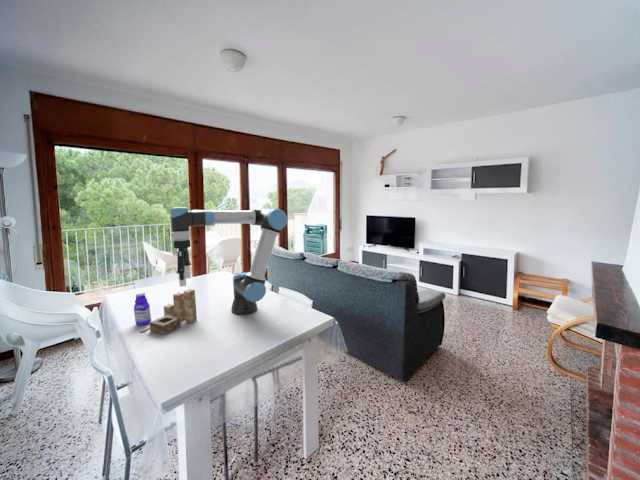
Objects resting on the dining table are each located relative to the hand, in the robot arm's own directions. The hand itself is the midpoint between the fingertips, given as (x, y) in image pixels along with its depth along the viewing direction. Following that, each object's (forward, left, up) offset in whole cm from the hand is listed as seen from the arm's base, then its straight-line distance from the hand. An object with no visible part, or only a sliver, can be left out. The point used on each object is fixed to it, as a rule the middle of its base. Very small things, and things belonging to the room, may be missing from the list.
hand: (185, 282), depth 141 cm
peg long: (-11, -10, -27) cm, 30 cm away
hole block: (+1, -15, -27) cm, 31 cm away
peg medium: (-11, -18, -27) cm, 34 cm away
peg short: (-11, -26, -27) cm, 39 cm away
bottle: (+1, -32, -27) cm, 42 cm away
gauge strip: (+1, -23, -27) cm, 35 cm away
